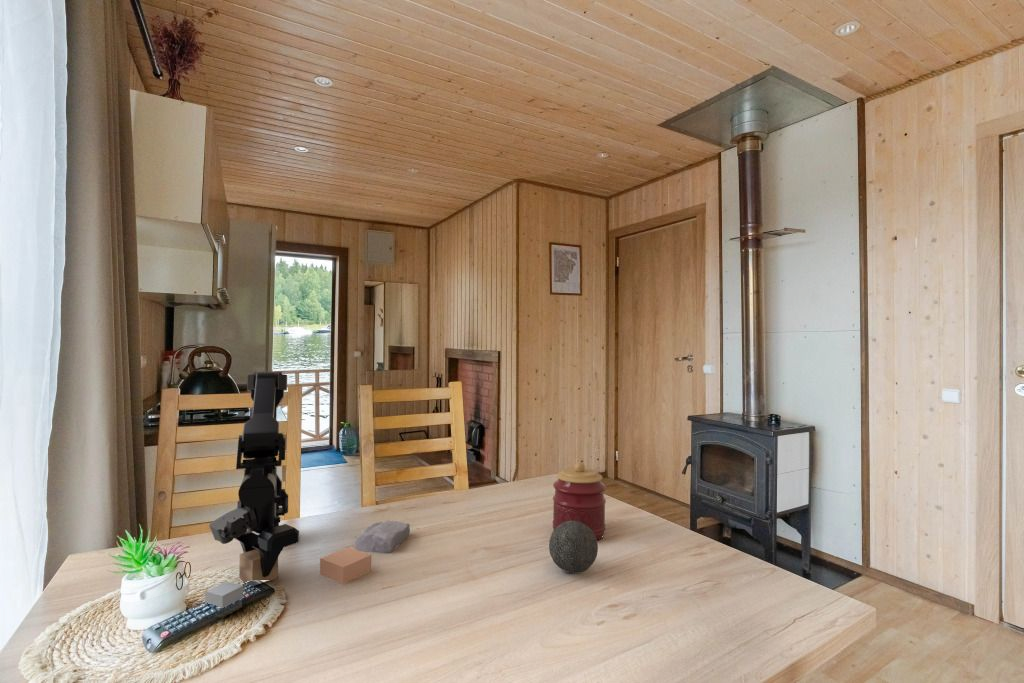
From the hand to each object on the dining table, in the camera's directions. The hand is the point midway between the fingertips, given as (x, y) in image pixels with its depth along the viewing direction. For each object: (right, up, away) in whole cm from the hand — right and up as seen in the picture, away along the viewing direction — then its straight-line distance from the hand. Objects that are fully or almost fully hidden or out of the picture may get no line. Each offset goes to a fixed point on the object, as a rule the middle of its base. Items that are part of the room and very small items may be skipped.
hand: (258, 572), depth 97 cm
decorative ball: (+62, -2, +5) cm, 62 cm away
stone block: (+19, -2, +19) cm, 27 cm away
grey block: (0, -1, -12) cm, 12 cm away
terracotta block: (+16, -2, +3) cm, 16 cm away
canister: (+66, -3, +26) cm, 71 cm away
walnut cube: (0, -1, 0) cm, 1 cm away
